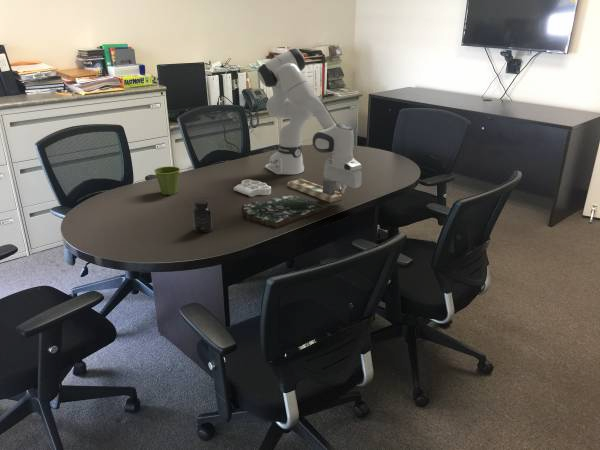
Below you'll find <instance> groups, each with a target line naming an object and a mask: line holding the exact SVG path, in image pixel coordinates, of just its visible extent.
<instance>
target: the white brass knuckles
mask: <svg viewBox="0 0 600 450" xmlns="http://www.w3.org/2000/svg"><path fill="white" fill-rule="evenodd" d="M233 191H235V192H238V193H240V194H242V195H245V196H248V197H251V198H252V197H255V196H268V195H271V194H272V186H270V185H268V184H267V183H266V182H262V181H260V180H254V179H249V178H248V179H244V180H242V181H241V183H239V184H237V185H236V186H234V187H233Z"/></svg>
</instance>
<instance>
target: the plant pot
mask: <svg viewBox="0 0 600 450" xmlns="http://www.w3.org/2000/svg"><path fill="white" fill-rule="evenodd" d="M180 171H181V168H180V167H178V166H159V167H158V168H155V169H154V170H153V172H154V173H155V175H156V176H155V177H156V178H157V181H158V185H159V188H160V192H161V194H162V195H165V196H166V195H168V196H172V195H175V194H177V193H178V187H179V186H178V185H179V184H178V183H179V175H180Z"/></svg>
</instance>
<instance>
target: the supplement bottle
mask: <svg viewBox="0 0 600 450" xmlns="http://www.w3.org/2000/svg"><path fill="white" fill-rule="evenodd" d="M192 215H193V216H192V217H193V228H194V231H195V232H196V233H197V234H206V233H209V232H211V231H212V230H213V223H212V222H213V221H212V220H213V219H212V210H211V207H209V204H208V200H207V199H197V200H195V201H194V208H193V210H192Z"/></svg>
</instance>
